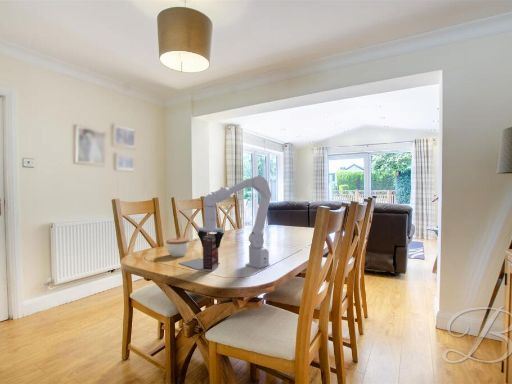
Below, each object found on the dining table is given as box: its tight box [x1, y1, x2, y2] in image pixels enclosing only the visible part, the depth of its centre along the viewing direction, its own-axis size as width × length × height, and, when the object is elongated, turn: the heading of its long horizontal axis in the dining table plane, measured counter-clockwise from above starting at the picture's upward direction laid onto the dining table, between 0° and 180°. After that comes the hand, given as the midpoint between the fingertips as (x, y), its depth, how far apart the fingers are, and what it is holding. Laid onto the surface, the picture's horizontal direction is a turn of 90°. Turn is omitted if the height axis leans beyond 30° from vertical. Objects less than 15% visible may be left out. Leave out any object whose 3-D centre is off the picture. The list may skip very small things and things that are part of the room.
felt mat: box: [178, 257, 220, 271], centre depth 137 cm, size 17×13×1 cm
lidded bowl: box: [166, 236, 190, 258], centre depth 155 cm, size 13×13×11 cm
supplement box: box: [202, 233, 219, 272], centre depth 128 cm, size 9×5×16 cm, turn 167°
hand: (210, 247), depth 131 cm, fingers open, 7 cm apart
